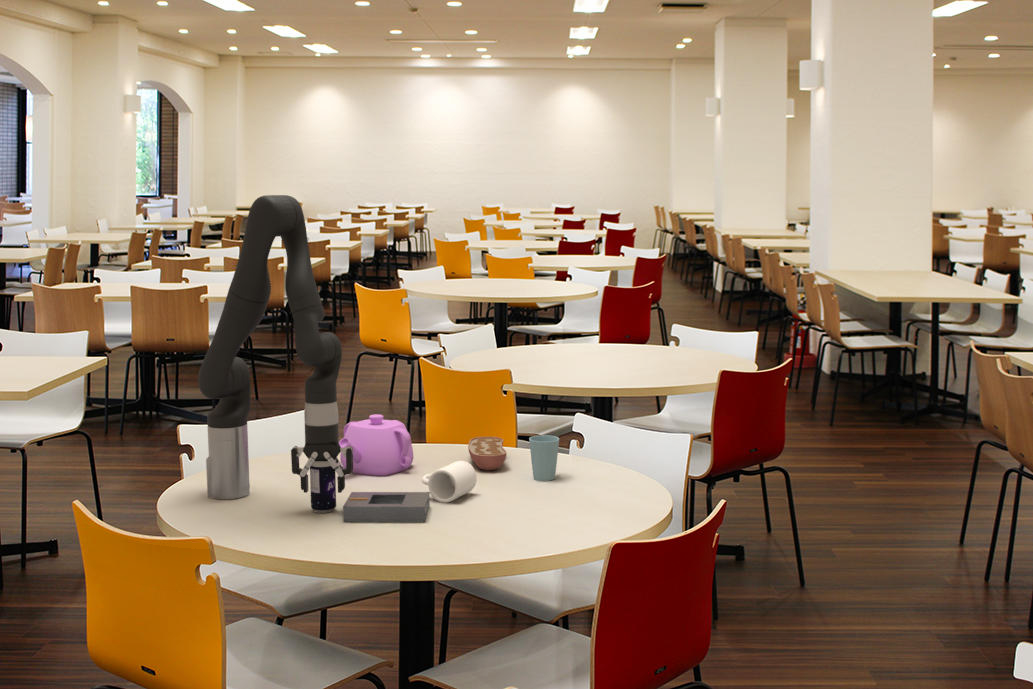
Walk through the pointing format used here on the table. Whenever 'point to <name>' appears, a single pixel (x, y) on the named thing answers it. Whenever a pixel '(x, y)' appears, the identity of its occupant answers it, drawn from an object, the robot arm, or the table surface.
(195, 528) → the table surface
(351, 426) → the teapot
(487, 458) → the anatomical model
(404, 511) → the jig
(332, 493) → the beverage can
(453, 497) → the mug
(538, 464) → the cup
